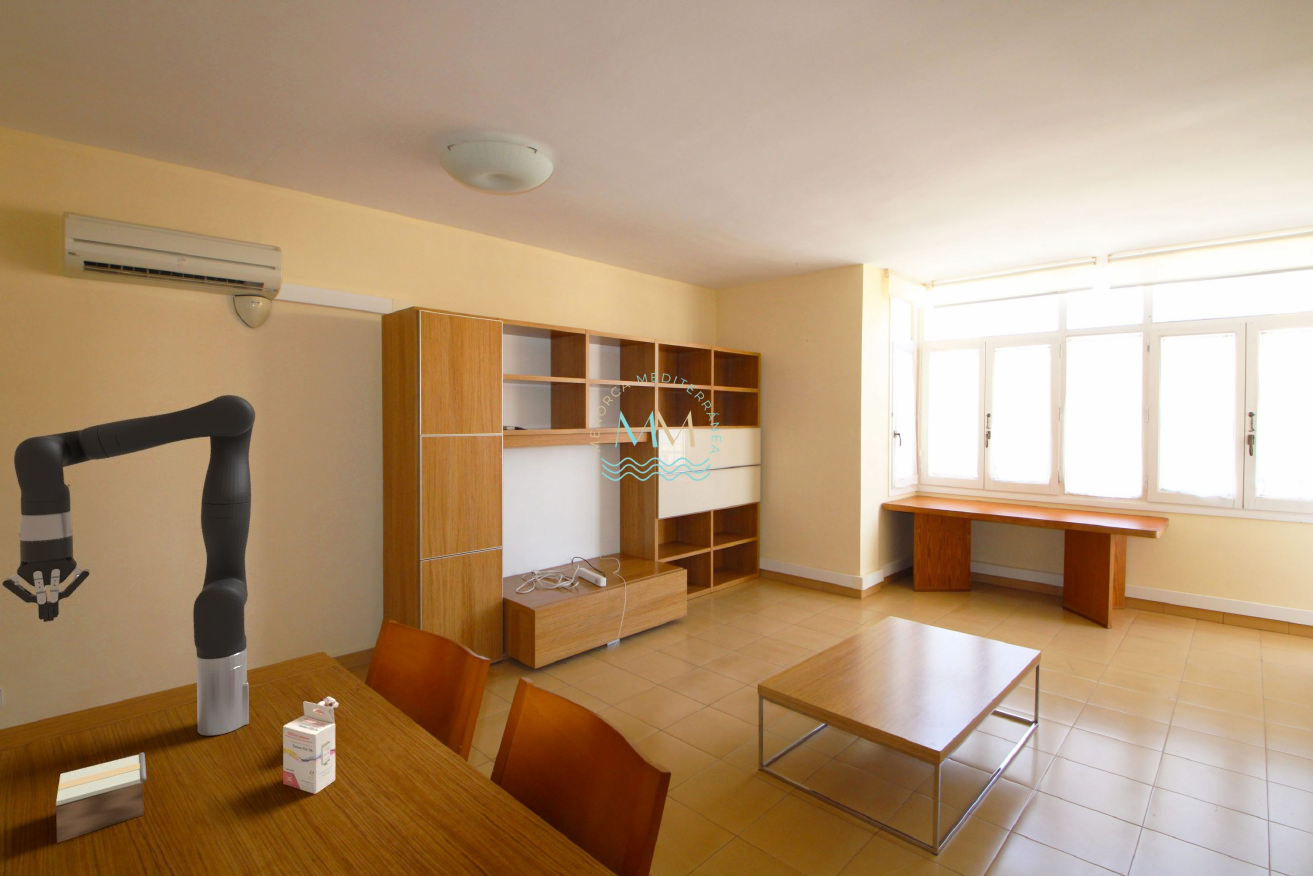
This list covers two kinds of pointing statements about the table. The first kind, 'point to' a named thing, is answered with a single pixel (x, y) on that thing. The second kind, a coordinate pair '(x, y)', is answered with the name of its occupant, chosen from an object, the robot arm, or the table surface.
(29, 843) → the table surface
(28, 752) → the table surface
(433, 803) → the table surface
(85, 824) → the box
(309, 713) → the ink cartridge box
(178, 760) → the table surface
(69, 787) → the lid
